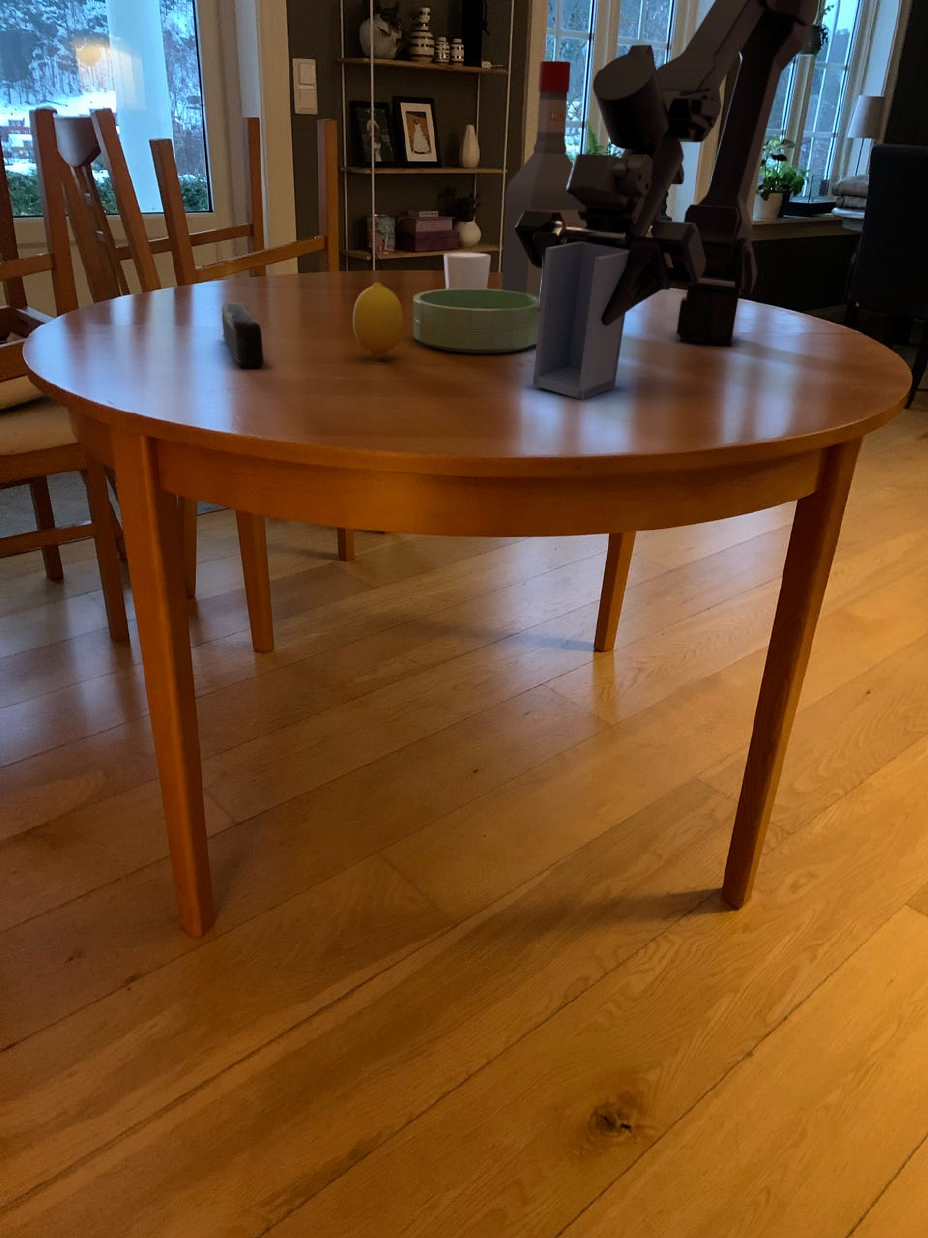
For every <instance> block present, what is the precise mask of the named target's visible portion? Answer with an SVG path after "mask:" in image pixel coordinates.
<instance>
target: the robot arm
mask: <svg viewBox="0 0 928 1238" xmlns="http://www.w3.org/2000/svg"><path fill="white" fill-rule="evenodd" d="M819 5H820V0H714V2H713V3H712V5H711V6H710V8H709V10H708V11H707V13H706V14H705V16H704V17H703V20H702V21H701V22H700V25H699V26H698V28H697V29H696V31H695V33H694V34H693V36H692V37H691V39H690V40H689V42H688V44H687V46H686V47H685V48H684V50H683V51H682V53H681V54H680V55H679V56H676V57H675V58H672V59H671V60H669V61H667V62H665V63H663V64H662V65H660V66H659V67H658V68H657V65H656V60H655V59H656V58H655V54H654V51H653V46H652V44H633V45H631V46H630V48H629V50H628V52H626V54H623V55H620V56H617V57H616V58H615V59H612V60H611V61H610V62H608V63H607V64H605V66H603V68H601V69H599V70H598V71H597V73H596V74H595V76H594V79H593V81H592V89H593V93H594V95H595V98H596V102H597V105H598V108H599V111H600V114H601V118H602V120H603V123H604V126H605V130H606V131H607V135H608V138H609V143H610V144H611V145H613V146H614V147H616V148H619V149H622V150H623V151H622V153H621V155H620V157H618V156H615V155H613V154H612V155H610V154H593V153H592V154H591V153H590V154H589V153H578V154H576V155H575V156H574V160H573V167H572V171H571V174H570V178H569V181H568V185H567V189H566V191H567V193H568V194H572V195H573V196H574V197H575V198H576V199H577V200H578V201H579V202H580V203H581V205H580V207H579V209H578V211H577V212H578V214H579V217H580V219H581V220H585V221H586V226H585V228H576V227H567V226H566V225H565V222H564V220H563V218H562V215H561V213H560V212H552V211H540V210H525V211H524V213H523V214H522V216H521V217H520V219H519V221H518V223H517V225H516V227H515V231H516V233H517V235H518V237H519V239H520V241H521V243H522V245H523V247H524V249H525V251H526V253H527V255H528V257H529V259H530V261H531V263H532V264H533V265H534V266H536V267H537V268H543V271H542V281H541V290H540V299H539V307H538V309H539V312H540V306H541V296H542V286H543V276H544V265H545V255H546V248H548V247H553V246H559V245H564V244H569V243H575V242H580V241H584V242H589V243H594V244H599V245H604V246H609V247H615V248H620V249H625V250H629V256H628V261H627V265H626V268H625V270H624V272H623V274H622V275H621V277H620V279H619V281H618V283H617V285H616V287H615V289H614V291H613V293H612V295H611V298H610V300H609V302H608V304H607V306H606V308H605V310H604V313H603V315H602V322H603V324H604V325H606V326H608V325H609V324H611V323H612V322H614V321H615V320H616V319H618V318H619V317H620V316H622V315H623V314H625V315H626V314H627V312H629V311H630V310H631V309H633V308H635V307H636V306H637V305H638V304H640V303H641V302H642V303H643V301H645V300H647V299H648V298H650V297H652V296H654V295H655V294H657V293H659V292H661V291H662V290H663V291H664V290H665V291H668V290H670V289H671V288H672V287H673V285H674V286H675V287H677V288H681V287H684V288H687V289H686V296H683V297H681V300H680V302H679V303H680V304H679V311H678V319H677V326H676V334H677V335H679V337H678V341H679V342H685V343H696V344H697V343H698V344H711V345H722V346H723V345H724V346H733V341H734V329H735V322H736V316H737V310H738V303H739V298H740V295H741V294H753V291H754V287H755V284H756V282H757V276H758V268H757V263H756V258H755V253H754V248H753V244H752V239H753V234H754V228H753V225H752V220H751V217H750V213H749V211H748V206H747V205H748V200H749V195H750V191H751V187H752V184H753V180H754V177H755V172H756V169H757V167H758V166H757V165H758V161H759V157H760V155H761V151H762V147H763V142H764V139H765V135H766V133H767V128H768V125H769V120H770V117H771V112H772V110H773V105H774V102H775V98H776V94H777V90H778V86H779V84H780V79H781V76H782V73H783V71H784V70H785V69H786V68H787V66H788V65H789V64H790V63H791V62H792V61H793V60H794V58H795V57H796V56H797V55H798V54H799V53H800V52H801V51H802V49H803V47H804V45H805V42H806V39H807V36H808V33H809V30H810V27H811V26H812V25H813V24H814V22H815V20H816V18H817V14H818V12H819ZM738 56H739V57H740V63H739V67H738V70H737V75H736V79H735V83H734V86H733V90H732V94H731V99H730V103H729V107H728V109H727V114H726V118H725V122H724V127H723V129H722V133H721V137H720V141H719V145H718V149H717V152H716V156H715V160H714V164H713V168H712V172H711V176H710V181H709V184H708V188H707V192H706V194H705V196H703V198H702V199H701V200H700V201H699V202H698V203H697V204H693V203H691V204H690V205H689V206H688V207H687V209H686V211H685V212H684V218H683V221H676V220H675V221H673V220H662V219H663V216H662V213H661V209H660V208H661V206H662V204H663V202H664V200H665V198H666V196H667V194H668V192H669V190H670V188H671V186H672V185H676V186H677V185H680V186H681V185H683V184H684V182H685V169H684V166H683V162H684V159H685V155H684V150H683V146H682V143H695V144H696V143H702V142H704V141H705V140H706V139H707V137H708V136H709V135H710V134H711V131H712V130H713V129H714V127H715V126H716V124H717V121H718V119H719V116H720V114H721V109H722V99H721V98H722V97H721V90H720V88H721V86H722V83H723V81H724V80H725V78H726V76H727V74H728V73H729V71H730V70H731V68H732V67H733V64H734V62H736V60H737V57H738ZM649 230H650V234H651V236H647V234H648V232H649ZM732 280H734V281H732Z"/></svg>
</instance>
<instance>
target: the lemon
mask: <svg viewBox="0 0 928 1238" xmlns="http://www.w3.org/2000/svg"><path fill="white" fill-rule="evenodd" d="M352 325H353V326H352V327H353V332H354V335H355V337H356V340H357V341H358V343H359V344H360V345H361V346H362V348H364V349H365V350H366V351H369V352H371V353H372V355H374V357H375V358H377V359H381V358H382V357H384V356H385V354H386V353H387V352H389V351H391V350H393V349H394V348H395V347H396V346H397V345H398V343H399V342H400V341H401V339H402V336H403V333H404V332H403V331H404V314H403V309H402V304H401V303H400V300H399V298H398V296H397V295H396V294H395V293H394V292H393V291H392V290H391V289H389V288H388V287H386V286H383V284H382V283H381V282H374V283H373V284H372V286H369V287H368V288H365V289H364V290H363V291H362V292H361V293H360V294H359V295H358V297H357V299H356V301H355V303H354V307H353V312H352Z"/></svg>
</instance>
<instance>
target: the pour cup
mask: <svg viewBox="0 0 928 1238" xmlns="http://www.w3.org/2000/svg"><path fill="white" fill-rule="evenodd" d="M628 256H629V250H625V249H620V248H615V247H609V246H604V245H599V244H594V243H589V242H584V241H580V242H575V243H569V244H564V245H559V246H553V247H548V248H546V255H545V265H544V276H543V286H542V296H541V306H540V317H539V327H538V337H537V343H536V349H535V359H534V369H533V379H532V380H533V381H532V385H533V386H535V387H538V388H542V389H545V390H548V391H552V392H555V393H558V394H562V395H565V396H569V397H570V398H571V397H572V398H575V399H578V400H581V401H583V400H586V399H589V398H591V397H593V396H596V395H599V394H601V393H603V392H605V391H609V390H611V389H613V388H615V386H616V379H617V372H618V365H619V359H620V353H621V346H622V339H623V332H624V325H625V318H626V313H625V314H623V315H622V316H620V317H619V318H618V319H616V320H615V321H614V322H612V323H611V324H609V325H608V326H606V325H604V324H603V322H602V315H603V313H604V310H605V308H606V306H607V304H608V302H609V300H610V298H611V295H612V293H613V291H614V289H615V287H616V285H617V283H618V281H619V279H620V277H621V275H622V274H623V272H624V270H625V268H626V265H627V261H628Z"/></svg>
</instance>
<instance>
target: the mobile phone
mask: <svg viewBox="0 0 928 1238" xmlns="http://www.w3.org/2000/svg"><path fill="white" fill-rule="evenodd" d="M221 308H222V310H221V319H222V320H221V321H222V331H223V334H222V338H223V339H224V342H225V346H227V348H228V349H229V352H230V354H231V355H232V357H233V359H234V360H235V362H236V363H237V365H238V366H240V367H244V368H258V367H262V366H263V365H264V352H263V338H262V330H261V325H260V324H259V323H258V322H257V321H256V320H255V318H253V316H252V315H251V314H250V311H249V307H248V306H247V304H246V303H244V302H237V301H236V302H235V301H232V302H230V301H229V302H225V303H223V305H222V307H221Z"/></svg>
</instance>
